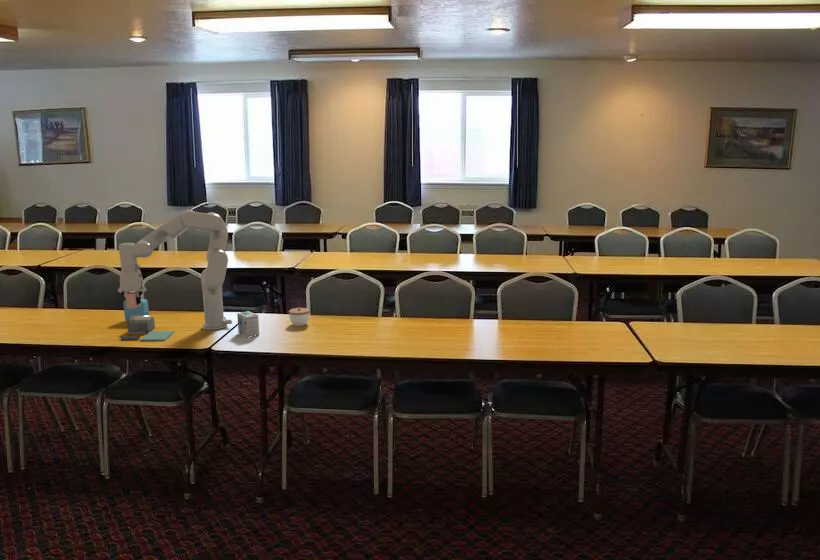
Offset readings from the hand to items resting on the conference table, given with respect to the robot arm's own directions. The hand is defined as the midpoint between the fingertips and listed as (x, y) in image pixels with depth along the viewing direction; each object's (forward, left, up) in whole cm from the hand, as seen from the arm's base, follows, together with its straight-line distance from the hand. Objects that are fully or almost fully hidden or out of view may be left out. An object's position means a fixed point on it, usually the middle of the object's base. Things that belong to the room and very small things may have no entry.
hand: (133, 304), depth 326 cm
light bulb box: (-55, -2, -17) cm, 58 cm away
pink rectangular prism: (0, 0, -1) cm, 1 cm away
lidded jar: (-78, -19, -17) cm, 83 cm away
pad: (-10, 0, -17) cm, 20 cm away
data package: (+12, -30, -17) cm, 36 cm away
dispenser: (+2, -5, -17) cm, 18 cm away
